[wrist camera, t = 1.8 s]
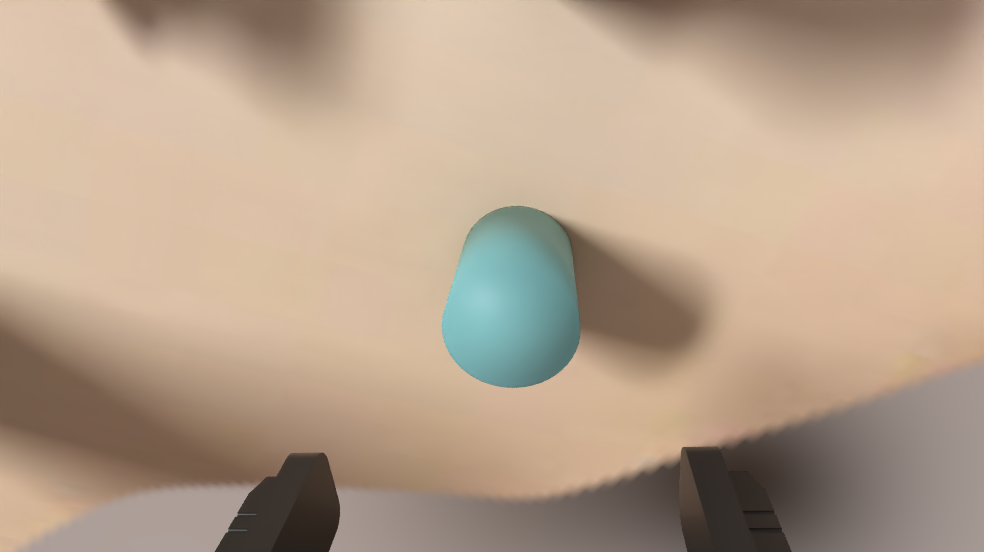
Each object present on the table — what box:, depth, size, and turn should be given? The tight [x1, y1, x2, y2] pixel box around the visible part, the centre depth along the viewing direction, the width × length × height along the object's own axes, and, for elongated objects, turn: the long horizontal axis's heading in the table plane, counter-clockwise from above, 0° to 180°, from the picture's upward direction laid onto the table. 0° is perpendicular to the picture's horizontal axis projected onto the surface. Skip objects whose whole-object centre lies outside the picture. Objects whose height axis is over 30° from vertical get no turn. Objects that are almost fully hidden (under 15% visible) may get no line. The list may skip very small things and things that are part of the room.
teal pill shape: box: [442, 206, 580, 388], centre depth 23 cm, size 5×5×6 cm
